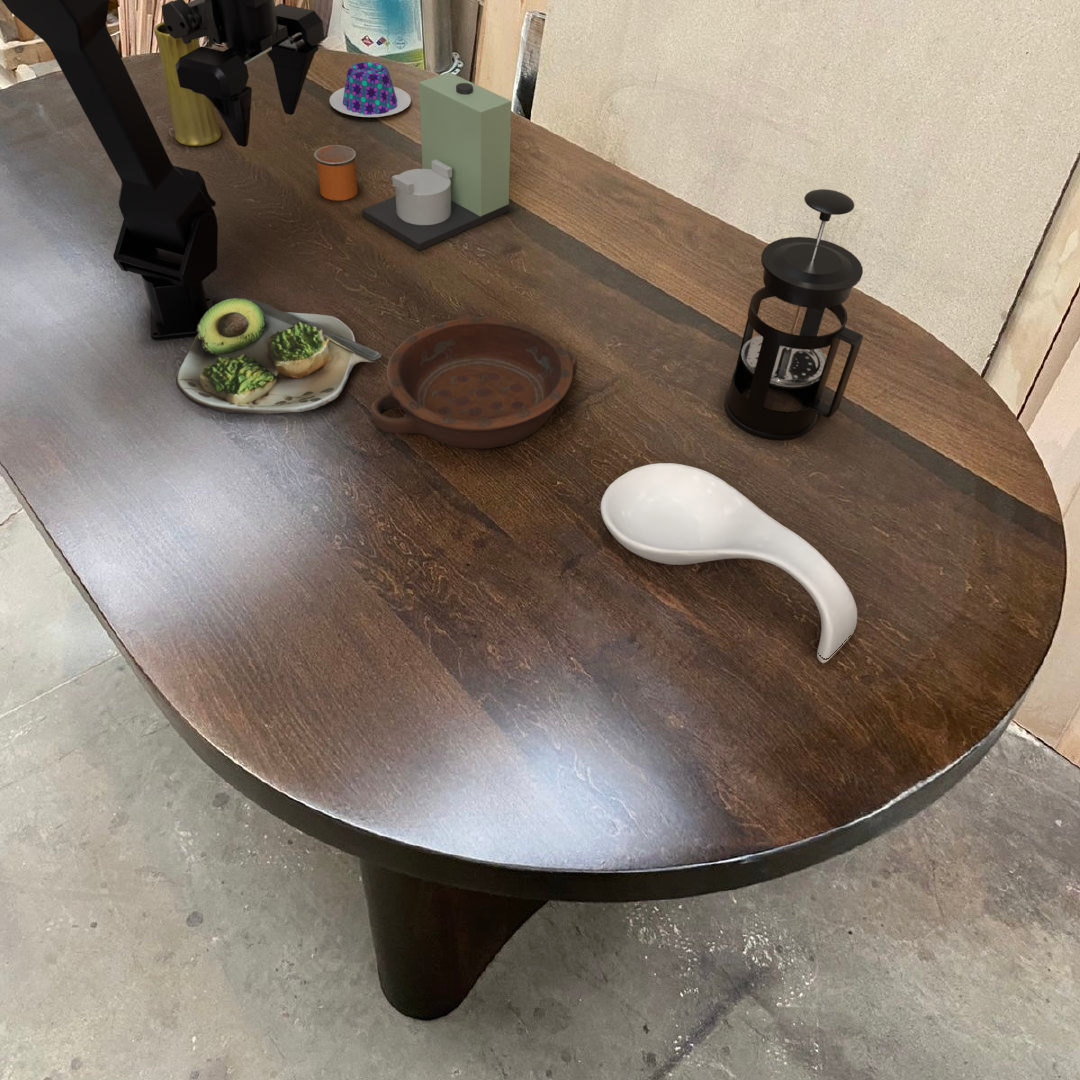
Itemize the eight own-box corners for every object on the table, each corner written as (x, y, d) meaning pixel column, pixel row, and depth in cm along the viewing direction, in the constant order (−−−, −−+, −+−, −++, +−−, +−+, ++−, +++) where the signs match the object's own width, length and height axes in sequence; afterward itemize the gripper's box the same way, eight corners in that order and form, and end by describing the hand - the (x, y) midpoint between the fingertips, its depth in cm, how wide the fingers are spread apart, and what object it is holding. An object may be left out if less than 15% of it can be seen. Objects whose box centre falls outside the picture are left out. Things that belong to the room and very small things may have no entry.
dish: (620, 425, 95) (626, 385, 92) (417, 497, 87) (415, 455, 83) (532, 333, 105) (534, 293, 102) (342, 390, 97) (337, 348, 93)
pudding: (425, 99, 146) (424, 63, 142) (385, 128, 138) (382, 91, 134) (357, 82, 149) (354, 46, 145) (314, 110, 141) (309, 73, 137)
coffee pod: (366, 194, 125) (363, 157, 121) (331, 205, 122) (326, 167, 119) (346, 178, 127) (342, 141, 124) (311, 188, 125) (306, 151, 122)
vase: (201, 123, 137) (178, 15, 126) (230, 136, 134) (210, 27, 124) (166, 137, 133) (140, 27, 123) (196, 151, 131) (172, 39, 120)
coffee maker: (419, 251, 116) (413, 130, 105) (362, 216, 121) (351, 98, 110) (508, 211, 123) (511, 95, 113) (451, 180, 129) (449, 66, 118)
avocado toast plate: (395, 325, 105) (392, 288, 102) (363, 431, 93) (359, 393, 89) (218, 310, 105) (210, 272, 102) (164, 414, 93) (152, 375, 89)
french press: (700, 408, 98) (747, 194, 81) (748, 368, 103) (802, 158, 86) (802, 461, 93) (874, 245, 76) (847, 416, 98) (924, 204, 81)
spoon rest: (571, 536, 84) (577, 476, 79) (652, 472, 91) (663, 413, 85) (802, 694, 74) (827, 637, 69) (876, 609, 80) (904, 551, 75)
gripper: (228, -64, 104) (253, 85, 115) (112, -14, 92) (152, 147, 103) (317, -47, 101) (334, 104, 113) (210, 8, 89) (240, 170, 101)
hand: (266, 129), depth 107 cm, fingers open, 9 cm apart
